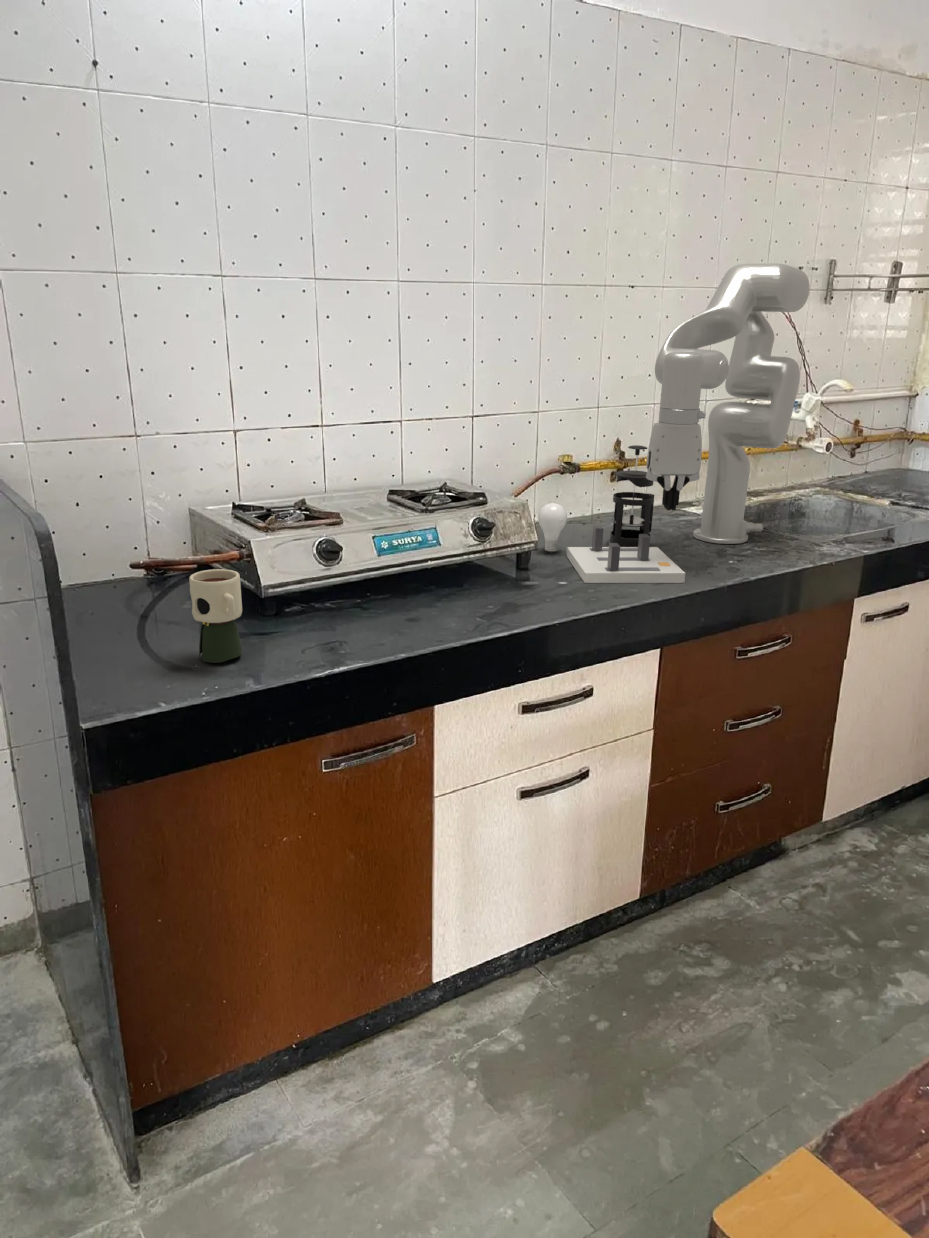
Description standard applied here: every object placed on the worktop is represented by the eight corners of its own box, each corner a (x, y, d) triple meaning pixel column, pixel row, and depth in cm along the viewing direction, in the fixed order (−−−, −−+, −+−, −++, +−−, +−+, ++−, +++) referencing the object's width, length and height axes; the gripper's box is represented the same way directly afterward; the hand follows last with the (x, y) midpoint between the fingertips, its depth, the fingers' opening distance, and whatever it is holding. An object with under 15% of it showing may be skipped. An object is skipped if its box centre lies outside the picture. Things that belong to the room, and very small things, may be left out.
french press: (630, 556, 190) (639, 450, 182) (597, 547, 197) (605, 445, 189) (663, 548, 197) (673, 446, 190) (631, 539, 204) (639, 441, 196)
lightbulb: (563, 557, 188) (566, 507, 185) (534, 554, 190) (536, 505, 186) (566, 549, 194) (569, 501, 191) (538, 547, 196) (540, 499, 192)
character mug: (183, 652, 132) (175, 570, 128) (227, 642, 136) (221, 563, 132) (214, 675, 124) (206, 589, 120) (259, 664, 129) (254, 580, 124)
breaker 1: (599, 547, 188) (600, 525, 186) (601, 550, 185) (603, 528, 184) (591, 547, 188) (593, 525, 186) (594, 550, 185) (596, 528, 184)
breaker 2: (615, 566, 174) (617, 543, 172) (618, 570, 171) (620, 546, 170) (607, 566, 174) (609, 543, 172) (610, 570, 171) (612, 546, 170)
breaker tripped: (644, 556, 182) (646, 533, 180) (648, 559, 179) (650, 537, 177) (637, 556, 182) (639, 533, 180) (640, 559, 179) (642, 537, 177)
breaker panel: (656, 556, 191) (657, 546, 190) (684, 582, 172) (685, 572, 171) (566, 555, 189) (567, 546, 189) (584, 583, 171) (585, 572, 170)
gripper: (709, 415, 175) (700, 504, 181) (636, 414, 174) (629, 504, 181) (721, 420, 168) (711, 513, 174) (645, 419, 167) (637, 513, 174)
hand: (669, 508), depth 177 cm, fingers closed
